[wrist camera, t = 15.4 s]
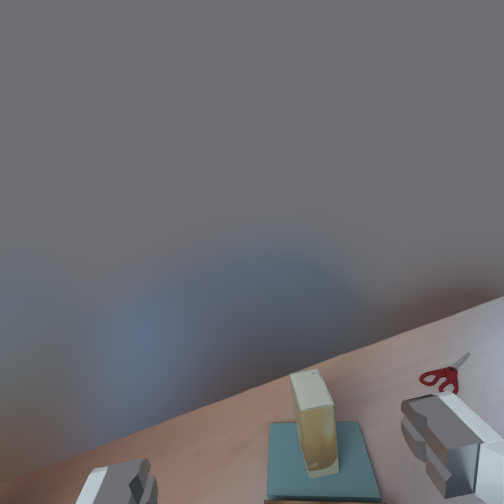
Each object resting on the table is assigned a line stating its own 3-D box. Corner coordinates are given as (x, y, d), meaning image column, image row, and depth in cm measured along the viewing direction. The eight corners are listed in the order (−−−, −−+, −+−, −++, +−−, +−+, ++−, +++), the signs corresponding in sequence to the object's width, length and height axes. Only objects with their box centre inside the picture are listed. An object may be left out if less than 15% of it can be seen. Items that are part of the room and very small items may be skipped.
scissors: (417, 382, 47) (417, 378, 47) (453, 348, 53) (453, 344, 53) (451, 401, 42) (451, 396, 42) (486, 362, 49) (487, 357, 48)
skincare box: (297, 436, 40) (287, 371, 36) (324, 430, 40) (317, 365, 37) (309, 482, 33) (299, 410, 30) (341, 476, 34) (335, 403, 30)
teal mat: (267, 499, 33) (266, 495, 33) (270, 427, 43) (270, 423, 42) (381, 502, 31) (381, 497, 31) (357, 425, 41) (357, 421, 40)
